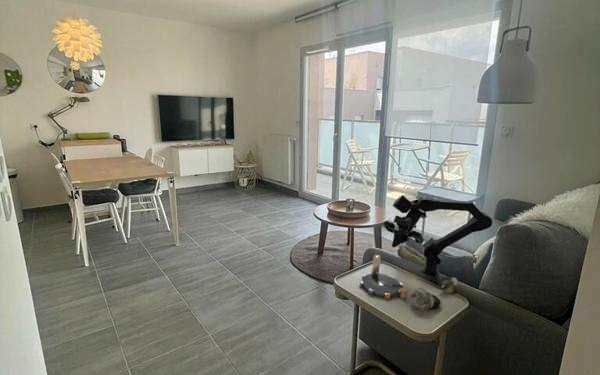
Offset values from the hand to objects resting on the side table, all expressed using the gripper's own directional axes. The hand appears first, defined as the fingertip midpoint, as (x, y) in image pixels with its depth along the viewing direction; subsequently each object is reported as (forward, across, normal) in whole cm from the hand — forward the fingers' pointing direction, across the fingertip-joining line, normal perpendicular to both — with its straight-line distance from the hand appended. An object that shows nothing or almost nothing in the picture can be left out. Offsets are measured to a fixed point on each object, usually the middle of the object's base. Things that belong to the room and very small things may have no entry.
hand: (392, 246), depth 145 cm
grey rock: (+15, +23, +5) cm, 28 cm away
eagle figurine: (+2, +21, +18) cm, 28 cm away
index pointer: (+17, +15, +2) cm, 23 cm away
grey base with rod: (+18, +6, 0) cm, 19 cm away
